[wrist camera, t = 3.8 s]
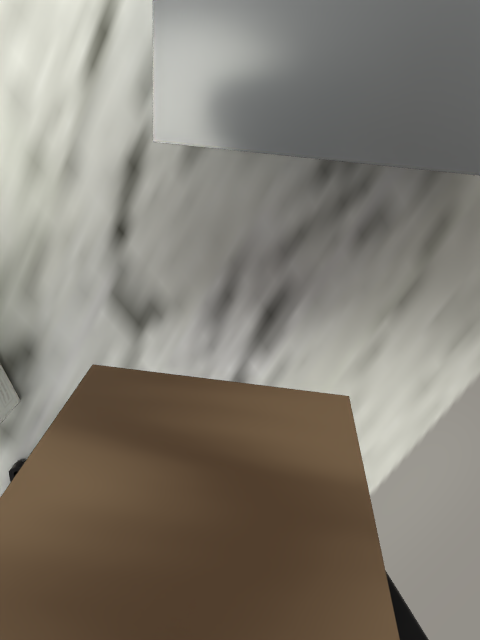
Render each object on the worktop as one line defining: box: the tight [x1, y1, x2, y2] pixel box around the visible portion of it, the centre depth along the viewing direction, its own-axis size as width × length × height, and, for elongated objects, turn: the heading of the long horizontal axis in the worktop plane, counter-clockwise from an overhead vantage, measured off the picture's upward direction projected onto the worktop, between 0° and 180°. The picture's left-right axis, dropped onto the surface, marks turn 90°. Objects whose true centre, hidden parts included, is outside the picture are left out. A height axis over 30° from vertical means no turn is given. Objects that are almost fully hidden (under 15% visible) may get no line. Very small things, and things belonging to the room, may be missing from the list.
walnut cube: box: [0, 365, 400, 640], centre depth 8 cm, size 5×5×5 cm
